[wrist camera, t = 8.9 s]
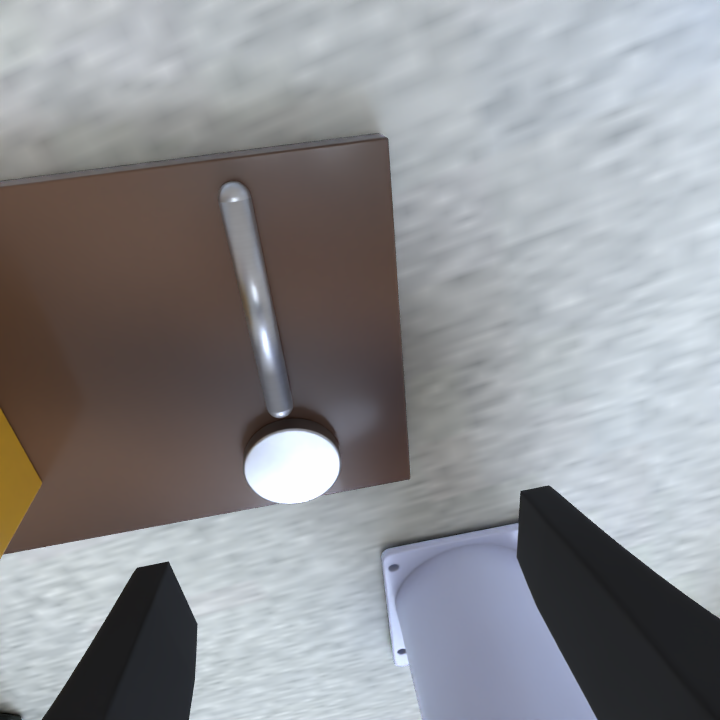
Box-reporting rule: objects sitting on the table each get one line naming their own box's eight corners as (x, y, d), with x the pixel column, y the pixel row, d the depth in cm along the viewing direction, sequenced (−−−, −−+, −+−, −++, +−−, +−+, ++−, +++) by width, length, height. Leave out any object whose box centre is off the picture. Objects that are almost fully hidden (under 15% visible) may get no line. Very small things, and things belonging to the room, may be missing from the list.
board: (404, 460, 22) (411, 479, 21) (-88, 550, 20) (-107, 575, 19) (380, 132, 15) (388, 137, 14) (-350, 225, 14) (-401, 237, 13)
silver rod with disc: (344, 483, 20) (347, 499, 20) (254, 499, 20) (253, 516, 19) (296, 170, 14) (297, 175, 14) (166, 187, 14) (160, 193, 13)
